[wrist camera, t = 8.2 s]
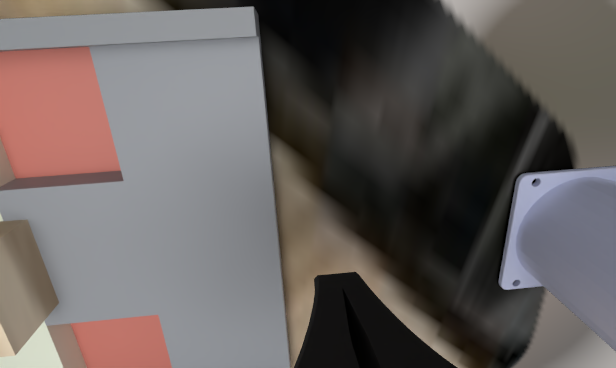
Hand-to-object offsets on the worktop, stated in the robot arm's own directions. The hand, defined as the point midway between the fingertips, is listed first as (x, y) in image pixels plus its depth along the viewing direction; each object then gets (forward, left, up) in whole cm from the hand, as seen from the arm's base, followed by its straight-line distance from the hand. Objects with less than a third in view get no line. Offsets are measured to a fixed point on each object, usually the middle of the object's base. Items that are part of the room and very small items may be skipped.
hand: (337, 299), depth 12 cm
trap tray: (+11, +2, -9) cm, 15 cm away
